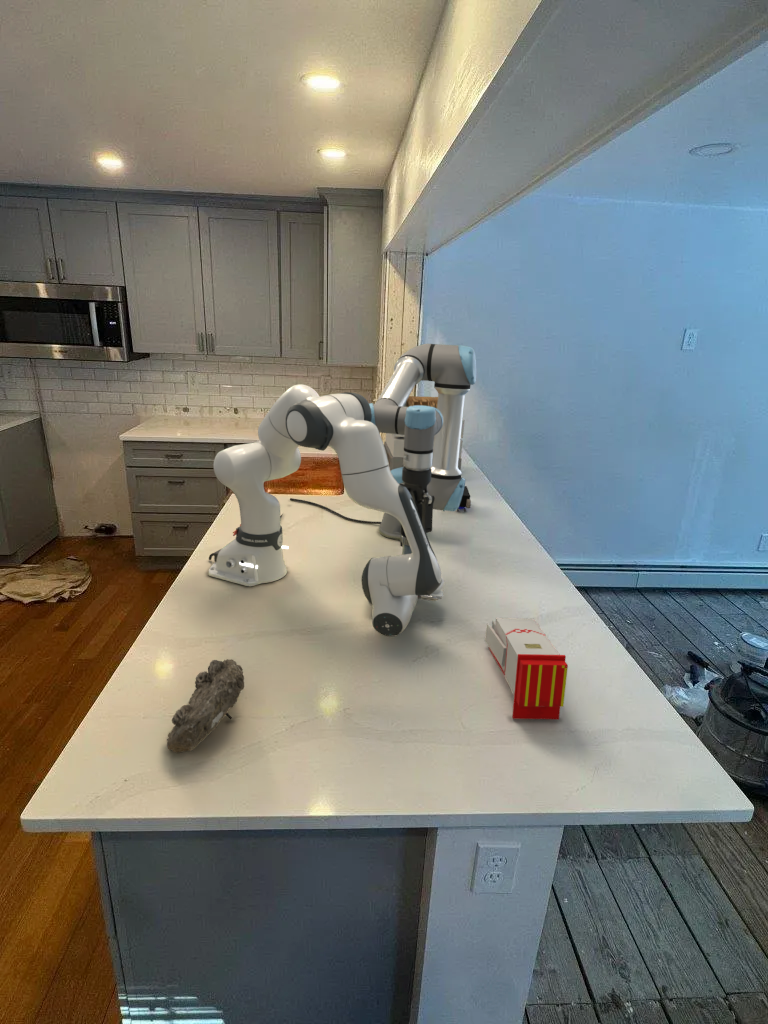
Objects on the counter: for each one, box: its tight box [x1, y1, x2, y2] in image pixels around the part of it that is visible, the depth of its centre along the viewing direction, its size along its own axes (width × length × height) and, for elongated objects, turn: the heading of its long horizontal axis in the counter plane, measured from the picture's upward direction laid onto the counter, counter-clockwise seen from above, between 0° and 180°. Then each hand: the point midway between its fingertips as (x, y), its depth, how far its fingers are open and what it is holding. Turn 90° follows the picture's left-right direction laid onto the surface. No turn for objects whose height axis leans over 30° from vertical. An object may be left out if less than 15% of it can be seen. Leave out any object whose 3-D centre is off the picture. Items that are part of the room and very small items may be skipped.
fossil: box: [166, 658, 245, 754], centre depth 106 cm, size 22×10×15 cm
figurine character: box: [456, 485, 472, 513], centre depth 228 cm, size 7×8×15 cm
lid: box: [401, 532, 410, 546], centre depth 152 cm, size 6×6×2 cm
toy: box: [484, 617, 569, 720], centre depth 122 cm, size 12×13×30 cm
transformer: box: [383, 395, 465, 472], centre depth 268 cm, size 34×33×41 cm
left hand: (410, 571), depth 157 cm, fingers closed on jar, 5 cm apart
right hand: (411, 549), depth 153 cm, fingers closed on lid, 6 cm apart
